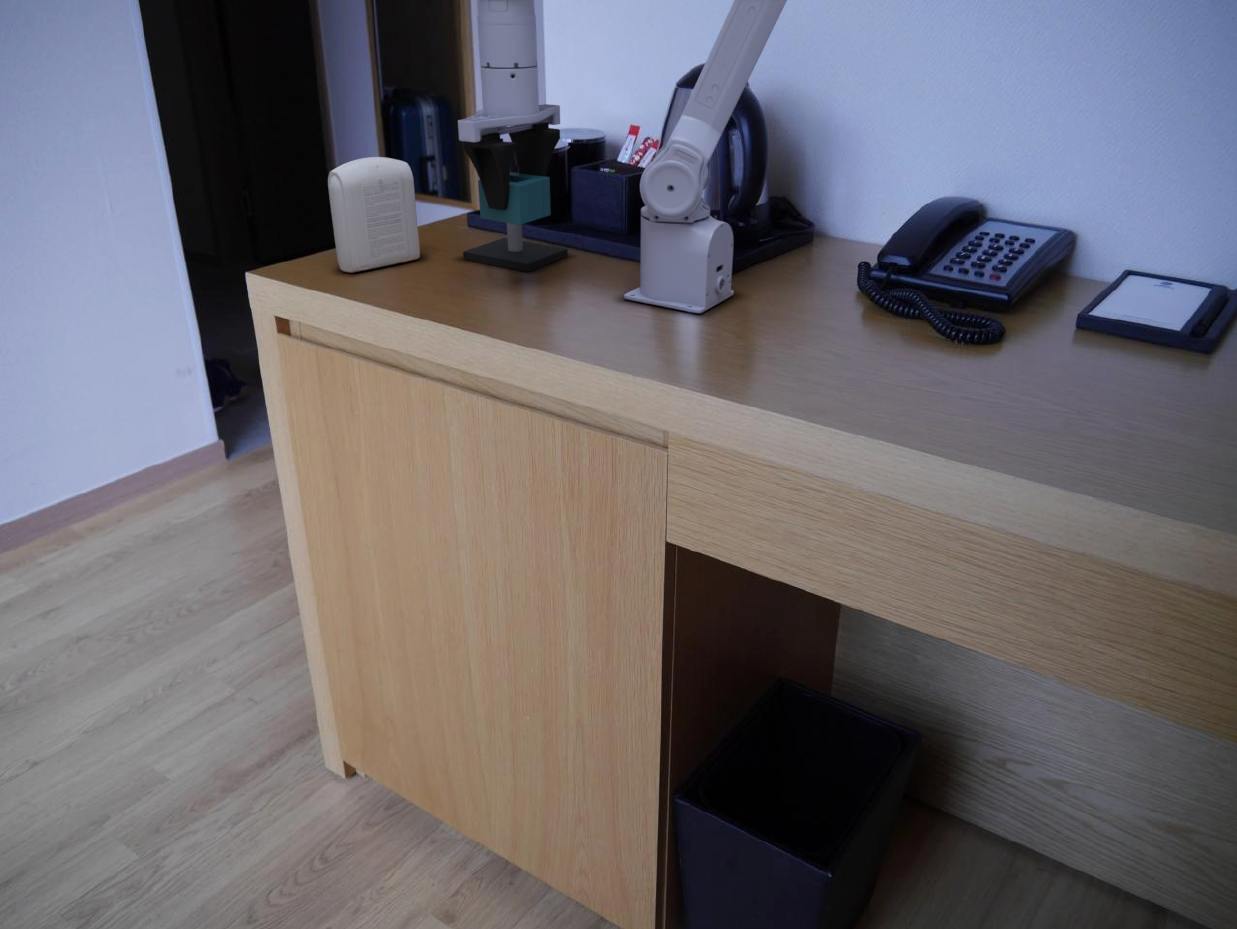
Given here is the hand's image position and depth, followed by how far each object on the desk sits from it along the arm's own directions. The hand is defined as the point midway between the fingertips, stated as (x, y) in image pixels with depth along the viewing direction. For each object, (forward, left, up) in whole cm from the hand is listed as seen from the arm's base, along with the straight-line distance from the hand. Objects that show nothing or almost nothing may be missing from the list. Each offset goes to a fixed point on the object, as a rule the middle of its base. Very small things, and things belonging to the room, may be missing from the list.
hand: (515, 203), depth 103 cm
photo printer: (+20, +1, -10) cm, 22 cm away
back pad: (+8, -10, -9) cm, 16 cm away
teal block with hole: (0, 0, -1) cm, 1 cm away
